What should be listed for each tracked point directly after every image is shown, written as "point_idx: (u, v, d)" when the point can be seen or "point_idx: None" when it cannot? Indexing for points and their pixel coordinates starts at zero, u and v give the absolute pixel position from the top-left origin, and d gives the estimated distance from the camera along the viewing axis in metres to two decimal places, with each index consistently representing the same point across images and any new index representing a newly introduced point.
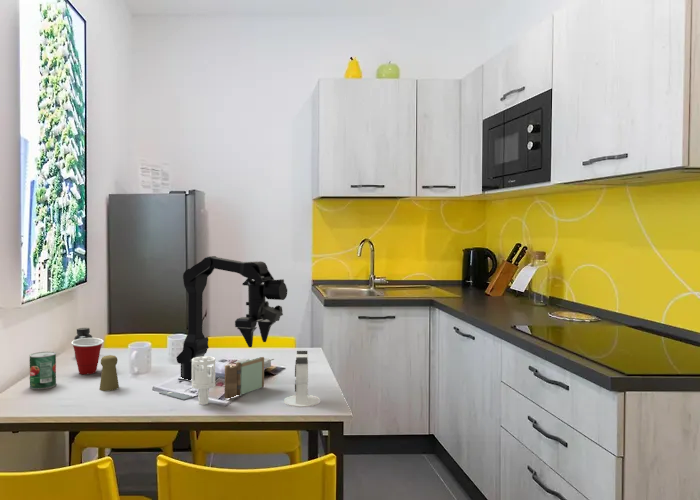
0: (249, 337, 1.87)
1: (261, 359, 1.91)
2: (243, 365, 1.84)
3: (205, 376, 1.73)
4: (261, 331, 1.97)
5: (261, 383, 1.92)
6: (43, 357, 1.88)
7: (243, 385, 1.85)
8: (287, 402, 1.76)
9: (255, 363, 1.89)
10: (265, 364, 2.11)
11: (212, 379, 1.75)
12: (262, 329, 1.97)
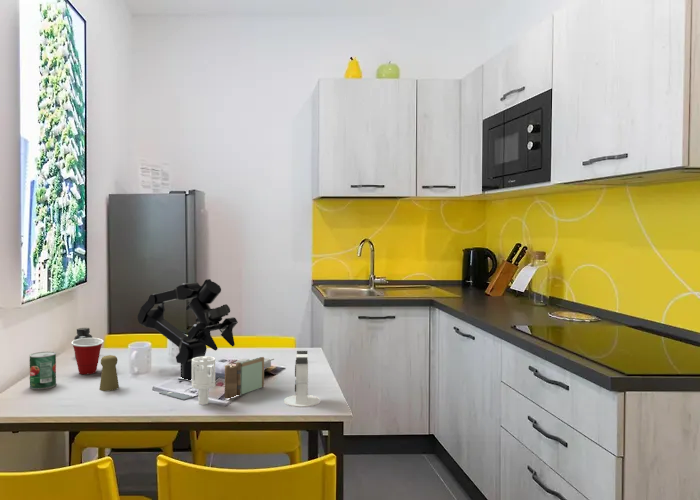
0: (209, 341, 1.90)
1: (261, 359, 1.91)
2: (243, 365, 1.84)
3: (205, 376, 1.73)
4: (226, 339, 1.98)
5: (261, 383, 1.92)
6: (43, 357, 1.88)
7: (243, 385, 1.85)
8: (287, 402, 1.76)
9: (255, 363, 1.89)
10: (265, 364, 2.11)
11: (212, 379, 1.75)
12: (227, 337, 1.99)
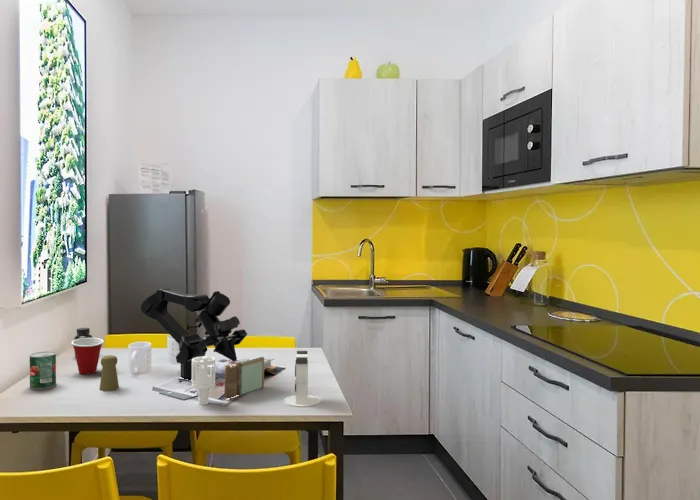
0: (227, 352, 1.91)
1: (261, 359, 1.91)
2: (243, 365, 1.84)
3: (205, 376, 1.73)
4: None
5: (261, 383, 1.92)
6: (43, 357, 1.88)
7: (243, 385, 1.85)
8: (287, 402, 1.76)
9: (255, 363, 1.89)
10: (265, 364, 2.11)
11: (212, 379, 1.75)
12: None
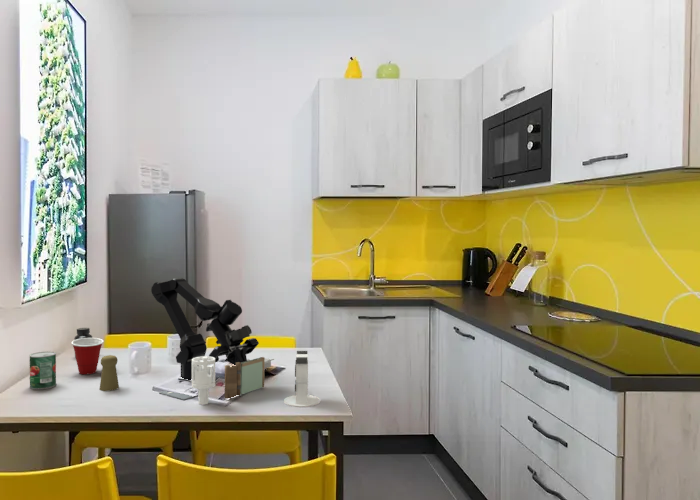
0: (239, 361, 1.88)
1: (261, 359, 1.91)
2: (243, 365, 1.84)
3: (205, 376, 1.73)
4: None
5: (261, 383, 1.92)
6: (43, 357, 1.88)
7: (243, 385, 1.85)
8: (287, 402, 1.76)
9: (256, 363, 1.89)
10: (265, 364, 2.11)
11: (212, 379, 1.75)
12: None
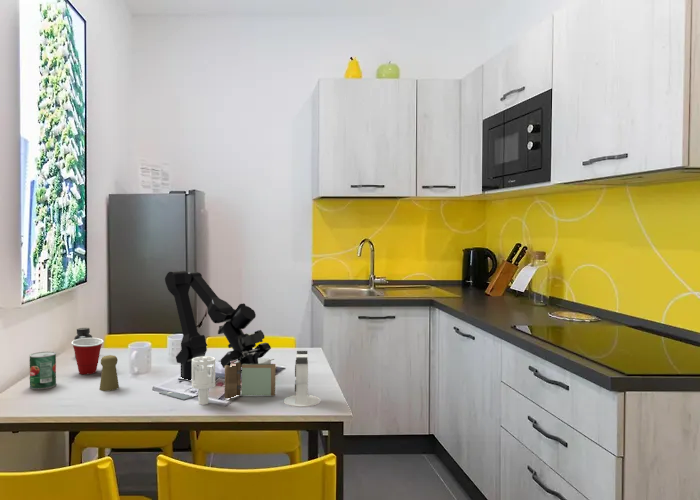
0: None
1: (270, 366, 1.83)
2: (243, 366, 1.82)
3: (205, 376, 1.73)
4: None
5: (270, 391, 1.83)
6: (43, 357, 1.88)
7: (243, 387, 1.83)
8: (287, 402, 1.76)
9: (261, 368, 1.83)
10: None
11: (212, 379, 1.75)
12: None
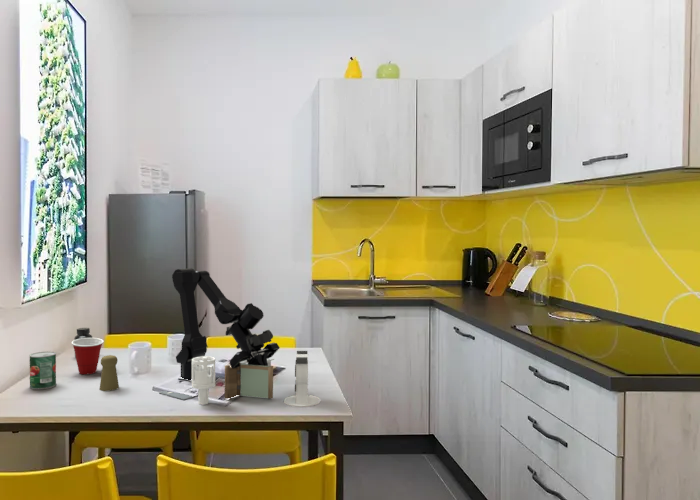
0: None
1: (267, 368, 1.80)
2: (242, 367, 1.82)
3: (205, 376, 1.73)
4: None
5: (268, 394, 1.80)
6: (43, 357, 1.88)
7: (242, 387, 1.82)
8: (287, 402, 1.76)
9: (259, 370, 1.81)
10: None
11: (212, 379, 1.75)
12: None
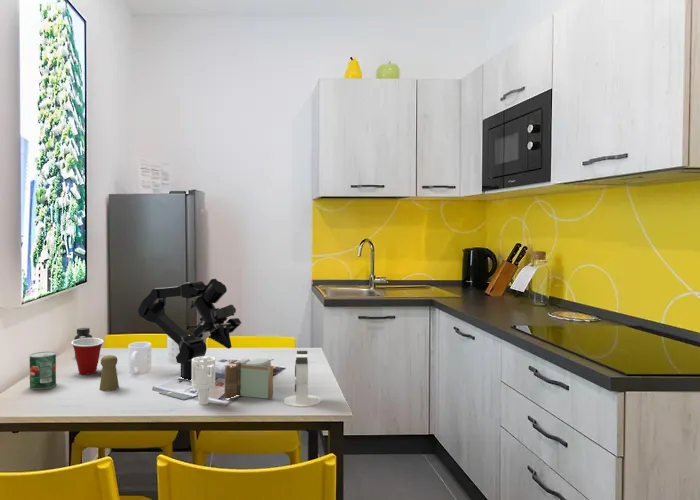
0: (223, 339, 1.93)
1: (267, 368, 1.80)
2: (242, 367, 1.82)
3: (205, 376, 1.73)
4: None
5: (267, 394, 1.80)
6: (43, 357, 1.88)
7: (242, 387, 1.82)
8: (287, 402, 1.76)
9: (259, 370, 1.81)
10: (265, 364, 2.11)
11: (212, 379, 1.75)
12: None
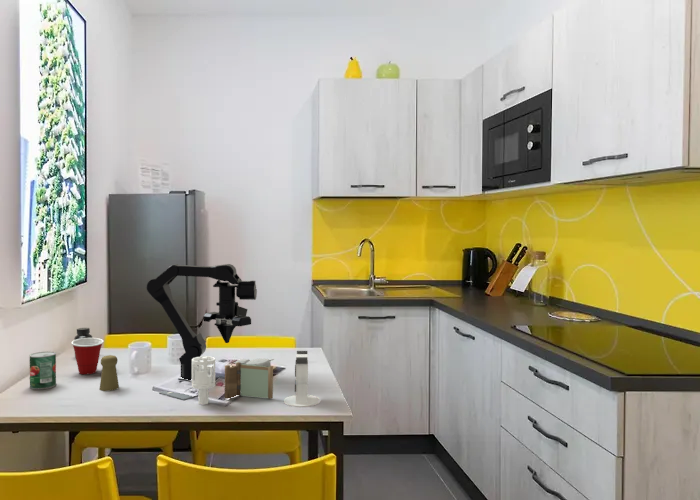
0: (230, 333, 2.03)
1: (267, 368, 1.80)
2: (242, 367, 1.82)
3: (205, 376, 1.73)
4: None
5: (267, 394, 1.80)
6: (43, 357, 1.88)
7: (242, 387, 1.82)
8: (287, 402, 1.76)
9: (259, 370, 1.81)
10: (264, 364, 2.10)
11: (212, 379, 1.75)
12: (224, 331, 2.02)
